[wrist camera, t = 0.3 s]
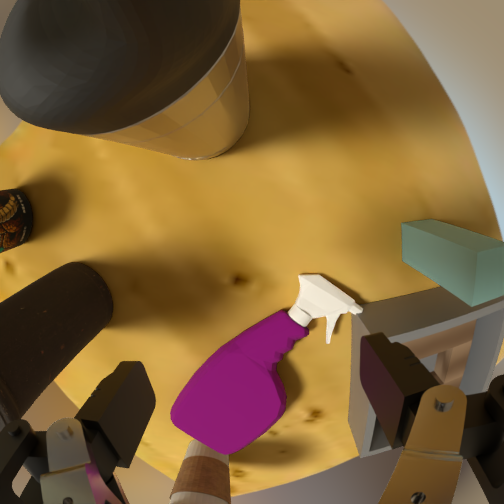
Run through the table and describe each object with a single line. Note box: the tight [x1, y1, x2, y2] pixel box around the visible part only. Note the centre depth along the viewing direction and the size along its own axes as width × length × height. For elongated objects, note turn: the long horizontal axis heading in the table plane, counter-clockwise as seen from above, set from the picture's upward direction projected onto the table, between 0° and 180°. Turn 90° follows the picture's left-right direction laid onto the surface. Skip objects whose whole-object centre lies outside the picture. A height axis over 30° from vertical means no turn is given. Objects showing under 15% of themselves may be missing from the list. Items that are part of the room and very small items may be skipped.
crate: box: [348, 286, 504, 458], centre depth 27 cm, size 18×18×7 cm
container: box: [0, 263, 113, 432], centre depth 19 cm, size 9×9×20 cm
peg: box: [401, 219, 504, 307], centre depth 21 cm, size 4×4×12 cm
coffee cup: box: [169, 439, 231, 504], centre depth 27 cm, size 8×8×15 cm
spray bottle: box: [170, 274, 363, 455], centre depth 29 cm, size 3×11×24 cm
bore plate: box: [401, 319, 477, 388], centre depth 28 cm, size 12×12×3 cm
